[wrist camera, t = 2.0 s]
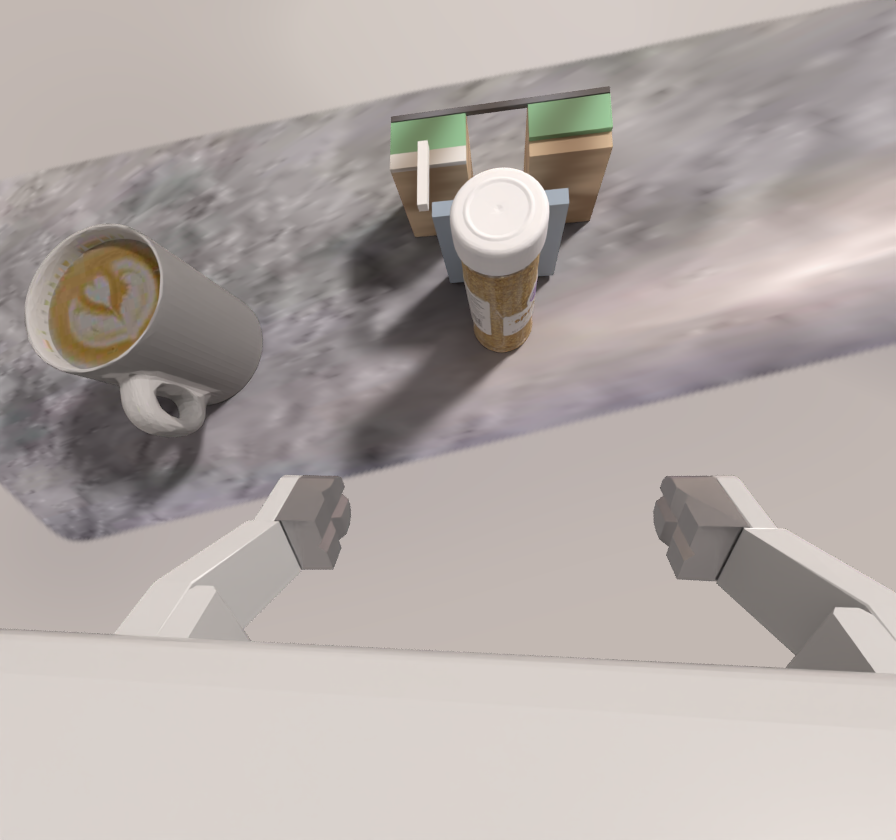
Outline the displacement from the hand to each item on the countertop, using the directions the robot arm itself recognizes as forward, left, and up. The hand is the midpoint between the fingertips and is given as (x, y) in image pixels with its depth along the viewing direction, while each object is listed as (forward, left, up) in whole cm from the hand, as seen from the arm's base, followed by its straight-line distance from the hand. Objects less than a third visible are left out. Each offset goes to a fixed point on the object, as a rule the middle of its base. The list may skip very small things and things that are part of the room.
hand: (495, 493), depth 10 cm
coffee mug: (+25, -10, -19) cm, 33 cm away
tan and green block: (0, -22, -19) cm, 29 cm away
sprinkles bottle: (0, -12, -19) cm, 23 cm away
